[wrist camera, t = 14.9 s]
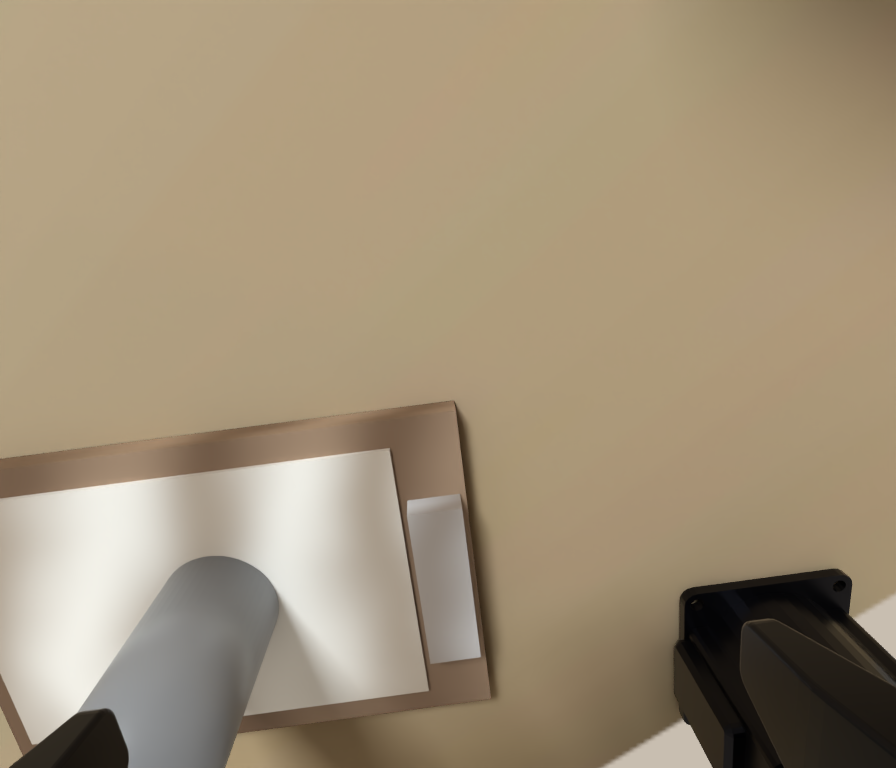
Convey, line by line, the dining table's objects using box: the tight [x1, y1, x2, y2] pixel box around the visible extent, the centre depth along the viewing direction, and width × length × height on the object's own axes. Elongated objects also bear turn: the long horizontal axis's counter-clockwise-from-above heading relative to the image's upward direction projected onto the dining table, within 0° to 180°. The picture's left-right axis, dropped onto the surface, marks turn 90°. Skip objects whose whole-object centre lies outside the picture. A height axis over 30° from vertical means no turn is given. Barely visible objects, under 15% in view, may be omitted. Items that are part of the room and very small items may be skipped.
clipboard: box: [0, 401, 491, 756], centre depth 20 cm, size 18×12×2 cm, turn 97°
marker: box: [77, 556, 279, 768], centre depth 15 cm, size 4×4×10 cm
